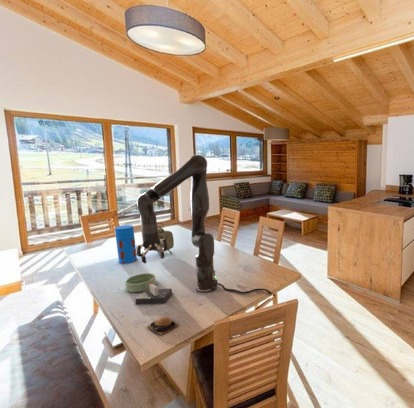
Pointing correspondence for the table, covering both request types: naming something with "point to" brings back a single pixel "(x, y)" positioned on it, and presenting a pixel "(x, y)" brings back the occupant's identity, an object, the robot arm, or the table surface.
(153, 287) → the red tipped lever
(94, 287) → the table surface
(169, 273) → the table surface
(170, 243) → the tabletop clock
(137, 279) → the basin
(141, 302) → the rotary switch dial
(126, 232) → the thermos
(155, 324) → the open sandwich
